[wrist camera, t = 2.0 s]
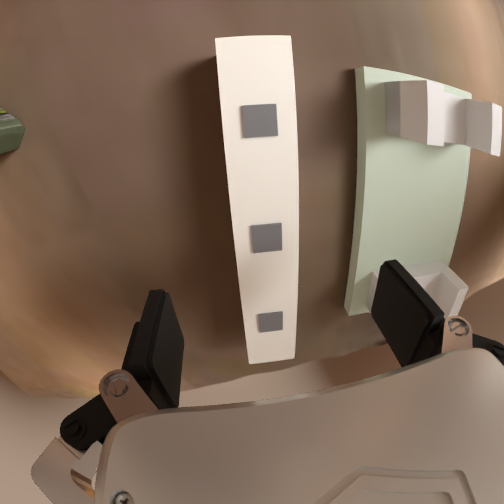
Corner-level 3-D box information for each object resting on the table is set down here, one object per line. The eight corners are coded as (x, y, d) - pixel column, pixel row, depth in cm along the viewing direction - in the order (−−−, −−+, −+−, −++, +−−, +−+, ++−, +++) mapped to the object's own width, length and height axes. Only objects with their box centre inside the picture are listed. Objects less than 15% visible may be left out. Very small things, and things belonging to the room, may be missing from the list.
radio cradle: (460, 92, 16) (511, 99, 11) (432, 287, 27) (462, 322, 21) (354, 68, 16) (403, 58, 10) (343, 306, 27) (367, 353, 21)
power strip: (275, 52, 16) (291, 34, 11) (284, 320, 27) (294, 359, 23) (217, 55, 15) (215, 37, 11) (245, 325, 27) (249, 365, 23)
